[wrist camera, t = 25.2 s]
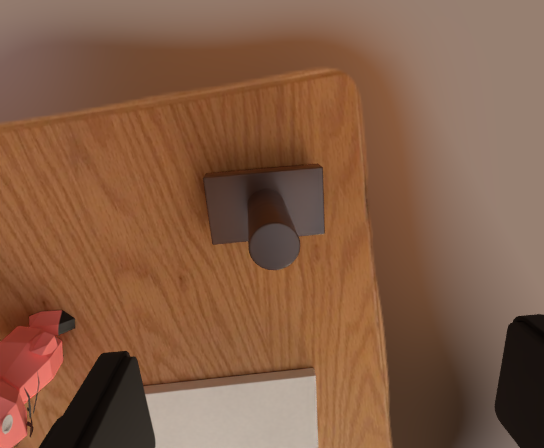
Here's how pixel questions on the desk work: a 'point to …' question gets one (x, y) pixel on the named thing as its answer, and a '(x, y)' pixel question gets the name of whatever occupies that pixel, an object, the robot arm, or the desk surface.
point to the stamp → (266, 210)
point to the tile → (236, 411)
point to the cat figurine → (28, 369)
